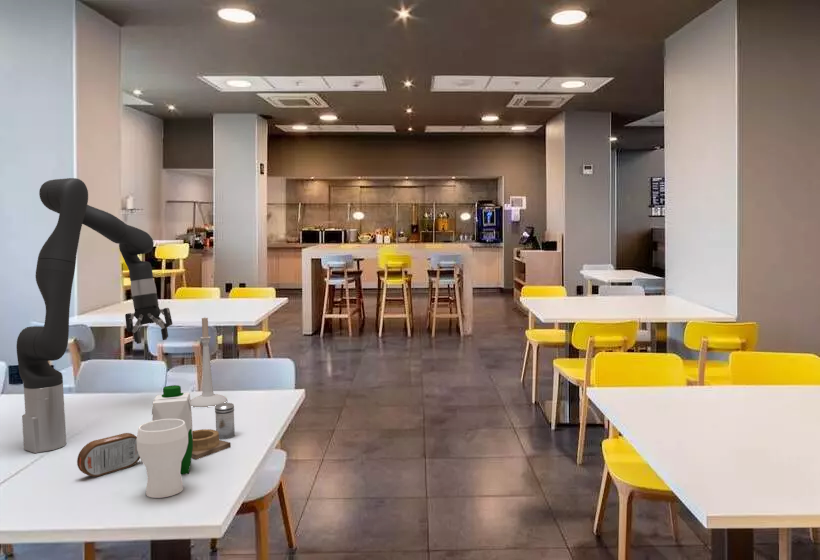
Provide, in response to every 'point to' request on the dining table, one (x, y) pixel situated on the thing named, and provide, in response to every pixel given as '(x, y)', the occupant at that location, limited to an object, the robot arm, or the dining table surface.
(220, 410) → the salt shaker
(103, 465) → the tin
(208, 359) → the candlestick
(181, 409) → the milk carton
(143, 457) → the cup
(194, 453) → the ring board
